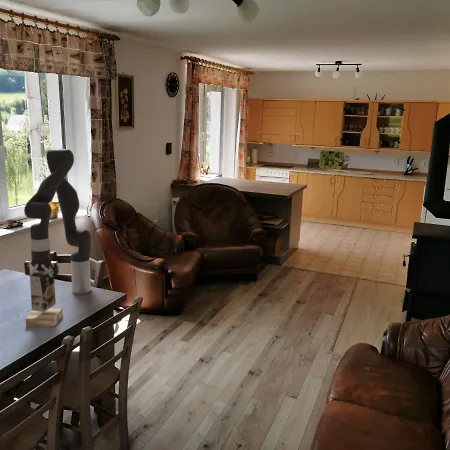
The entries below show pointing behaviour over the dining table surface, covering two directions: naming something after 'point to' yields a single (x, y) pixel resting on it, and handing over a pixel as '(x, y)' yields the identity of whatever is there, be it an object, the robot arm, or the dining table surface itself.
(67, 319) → the dining table surface
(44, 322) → the birch block
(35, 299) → the coffee box
